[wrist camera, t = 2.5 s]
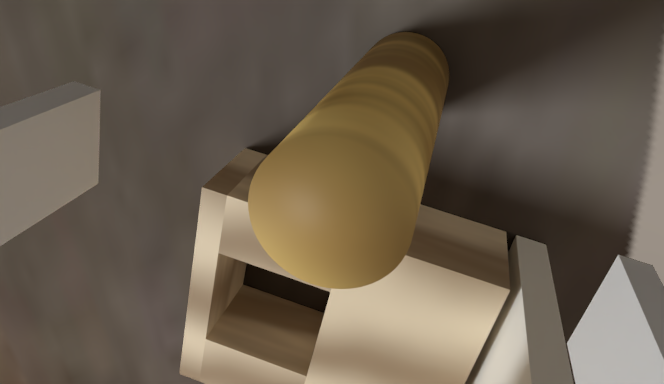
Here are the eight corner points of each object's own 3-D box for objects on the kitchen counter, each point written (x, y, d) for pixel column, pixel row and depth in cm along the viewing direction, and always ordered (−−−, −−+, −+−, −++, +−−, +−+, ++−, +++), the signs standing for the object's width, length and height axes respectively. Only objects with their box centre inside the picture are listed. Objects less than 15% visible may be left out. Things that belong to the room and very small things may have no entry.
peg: (374, 21, 24) (262, 114, 12) (461, 46, 24) (437, 168, 11) (353, 104, 26) (237, 258, 14) (433, 128, 26) (387, 310, 13)
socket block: (245, 148, 28) (202, 187, 24) (506, 231, 27) (510, 290, 22) (218, 317, 34) (179, 373, 30) (432, 395, 33) (424, 466, 28)
